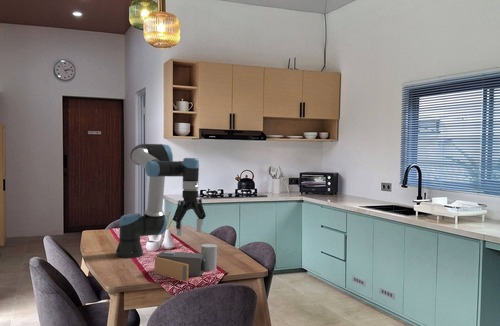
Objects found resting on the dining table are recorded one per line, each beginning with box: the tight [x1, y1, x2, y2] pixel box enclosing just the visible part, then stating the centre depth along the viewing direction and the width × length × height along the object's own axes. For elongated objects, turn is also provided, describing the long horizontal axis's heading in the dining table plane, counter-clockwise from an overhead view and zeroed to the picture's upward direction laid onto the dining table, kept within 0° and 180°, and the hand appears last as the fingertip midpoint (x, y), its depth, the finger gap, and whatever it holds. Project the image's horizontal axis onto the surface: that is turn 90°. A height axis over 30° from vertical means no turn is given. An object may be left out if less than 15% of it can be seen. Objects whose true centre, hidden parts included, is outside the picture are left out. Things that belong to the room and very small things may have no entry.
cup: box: [200, 243, 218, 271], centre depth 245 cm, size 8×8×12 cm
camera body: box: [156, 250, 207, 277], centre depth 235 cm, size 24×10×10 cm, turn 84°
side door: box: [154, 256, 189, 283], centre depth 224 cm, size 22×2×8 cm, turn 54°
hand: (189, 233), depth 227 cm, fingers open, 13 cm apart
